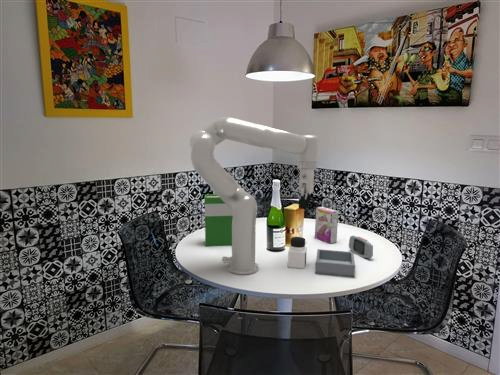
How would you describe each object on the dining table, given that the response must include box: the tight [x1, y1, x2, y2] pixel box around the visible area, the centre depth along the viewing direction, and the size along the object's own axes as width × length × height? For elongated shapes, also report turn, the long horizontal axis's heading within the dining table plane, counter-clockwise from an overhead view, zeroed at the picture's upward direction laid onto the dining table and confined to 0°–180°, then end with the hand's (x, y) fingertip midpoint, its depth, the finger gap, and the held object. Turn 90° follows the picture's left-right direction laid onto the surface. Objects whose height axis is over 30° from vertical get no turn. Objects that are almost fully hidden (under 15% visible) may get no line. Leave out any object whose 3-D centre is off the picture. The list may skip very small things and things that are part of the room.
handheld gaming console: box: [348, 235, 374, 259], centre depth 166 cm, size 14×3×8 cm, turn 24°
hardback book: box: [204, 193, 233, 247], centre depth 179 cm, size 18×7×24 cm, turn 97°
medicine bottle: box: [287, 236, 308, 269], centre depth 154 cm, size 7×7×12 cm
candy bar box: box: [314, 206, 339, 245], centre depth 185 cm, size 11×5×16 cm, turn 34°
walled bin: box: [315, 248, 356, 279], centre depth 151 cm, size 15×15×5 cm
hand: (304, 206), depth 153 cm, fingers open, 9 cm apart
